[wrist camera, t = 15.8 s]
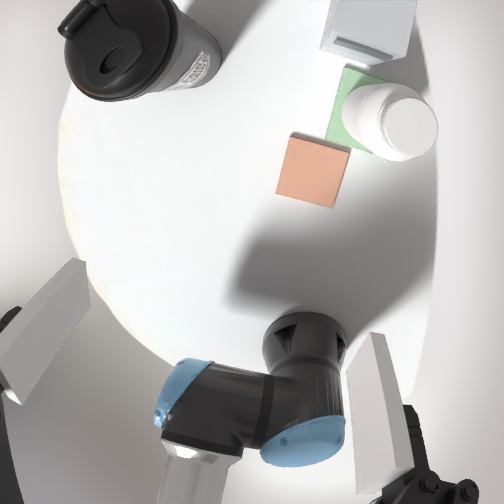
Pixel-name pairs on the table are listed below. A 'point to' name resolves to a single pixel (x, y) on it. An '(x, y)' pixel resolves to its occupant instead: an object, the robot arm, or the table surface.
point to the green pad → (346, 86)
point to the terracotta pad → (311, 172)
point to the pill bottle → (390, 121)
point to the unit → (369, 29)
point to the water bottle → (136, 49)
